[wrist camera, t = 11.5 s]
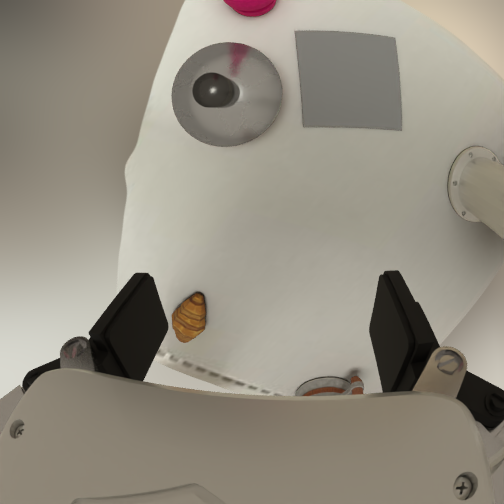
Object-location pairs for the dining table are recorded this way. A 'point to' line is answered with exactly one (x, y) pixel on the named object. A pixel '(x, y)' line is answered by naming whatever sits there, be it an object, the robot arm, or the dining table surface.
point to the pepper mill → (251, 6)
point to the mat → (349, 80)
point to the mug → (331, 387)
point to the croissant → (189, 318)
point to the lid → (226, 94)
